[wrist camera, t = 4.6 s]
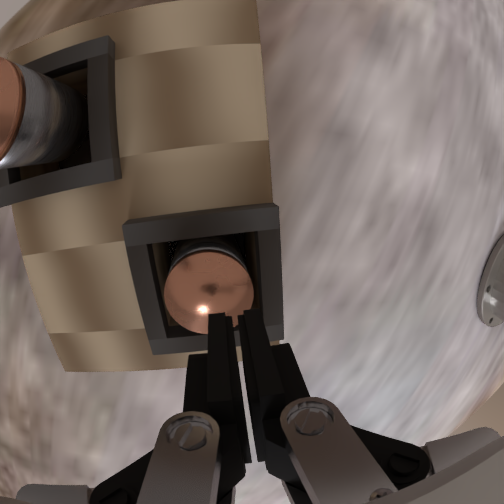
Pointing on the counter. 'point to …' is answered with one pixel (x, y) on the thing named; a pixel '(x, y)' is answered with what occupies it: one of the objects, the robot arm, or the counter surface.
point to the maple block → (148, 179)
